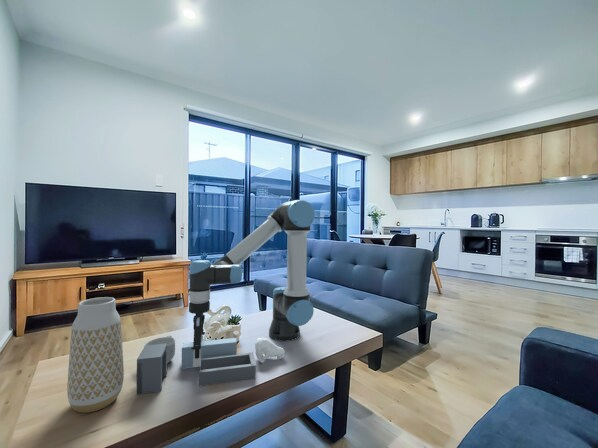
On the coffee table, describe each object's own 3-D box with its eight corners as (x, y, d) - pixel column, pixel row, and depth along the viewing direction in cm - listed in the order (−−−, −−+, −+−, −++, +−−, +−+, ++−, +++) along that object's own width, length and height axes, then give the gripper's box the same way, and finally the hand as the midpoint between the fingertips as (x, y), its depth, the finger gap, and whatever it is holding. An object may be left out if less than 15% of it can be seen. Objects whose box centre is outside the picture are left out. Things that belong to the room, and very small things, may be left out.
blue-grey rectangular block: (235, 357, 112) (236, 337, 112) (236, 362, 109) (236, 342, 108) (182, 363, 107) (183, 343, 107) (181, 369, 103) (181, 347, 103)
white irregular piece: (256, 334, 113) (285, 336, 115) (253, 355, 113) (282, 356, 115) (255, 341, 107) (286, 343, 109) (253, 363, 107) (284, 364, 109)
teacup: (162, 371, 101) (162, 350, 101) (136, 368, 103) (137, 346, 103) (185, 353, 114) (185, 334, 114) (162, 350, 116) (162, 332, 116)
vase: (105, 384, 93) (105, 293, 92) (133, 394, 87) (134, 298, 87) (56, 409, 80) (56, 304, 80) (86, 424, 75) (86, 311, 74)
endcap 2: (252, 363, 107) (252, 352, 107) (255, 378, 98) (255, 365, 97) (200, 370, 102) (200, 358, 102) (198, 385, 92) (198, 372, 92)
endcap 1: (166, 374, 99) (167, 343, 99) (160, 391, 89) (161, 356, 89) (145, 377, 97) (145, 345, 97) (136, 394, 87) (136, 359, 87)
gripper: (192, 294, 116) (190, 347, 116) (185, 310, 94) (183, 376, 93) (210, 293, 118) (209, 345, 118) (208, 309, 96) (207, 373, 95)
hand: (198, 358), depth 105 cm, fingers open, 11 cm apart
